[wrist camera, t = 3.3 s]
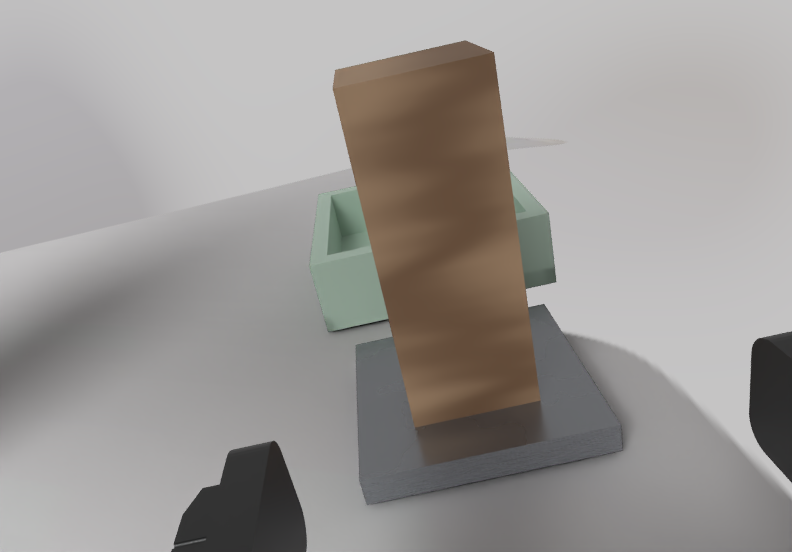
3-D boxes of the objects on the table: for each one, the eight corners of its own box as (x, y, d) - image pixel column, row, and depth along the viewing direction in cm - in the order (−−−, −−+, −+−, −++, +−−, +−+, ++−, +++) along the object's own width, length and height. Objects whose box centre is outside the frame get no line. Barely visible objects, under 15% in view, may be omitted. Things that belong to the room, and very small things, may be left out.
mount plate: (367, 504, 19) (359, 480, 19) (360, 364, 27) (355, 344, 26) (622, 450, 19) (620, 424, 19) (546, 324, 27) (544, 304, 26)
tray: (328, 331, 30) (309, 266, 28) (332, 246, 40) (318, 194, 38) (556, 281, 30) (548, 212, 28) (503, 208, 40) (495, 154, 38)
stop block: (414, 427, 21) (332, 88, 16) (404, 359, 25) (335, 70, 20) (540, 400, 21) (494, 52, 16) (509, 336, 24) (465, 40, 20)
